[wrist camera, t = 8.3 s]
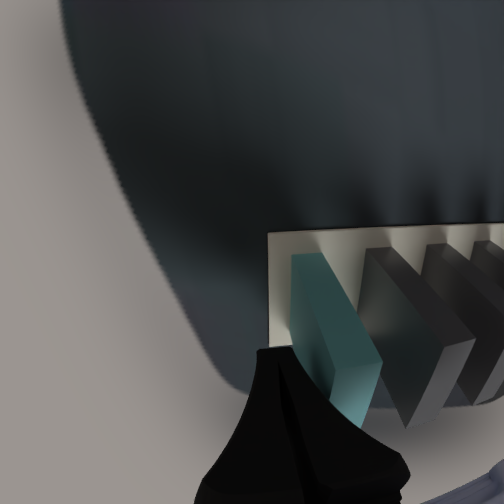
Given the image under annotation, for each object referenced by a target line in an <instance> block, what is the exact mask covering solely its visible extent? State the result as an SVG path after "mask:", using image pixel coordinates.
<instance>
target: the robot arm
mask: <svg viewBox="0 0 504 504" xmlns="http://www.w3.org/2000/svg"><path fill="white" fill-rule="evenodd" d="M256 352H257V363H256V370H255V376H254V380H253V384H252V388H251V391H250V394H249V397H248V400H247V403H246V406H245V409H244V411H243V414H242V416H241V418H240V421H239V423H238V425H237V427H236V429H235V431H234V433H233V435H232V437H231V438H230V440H229V442H228V444H227V445H226V447H225V448H224V450H223V452H222V453H221V455H220V456H219V458H218V459H217V461H216V462H215V464H214V465H213V466H212V468H211V469H210V470H209V471H208V473H207V474H206V475H205V476H204V478H203V479H202V482H201V484H200V486H199V489H198V491H197V494H196V497H195V501H194V504H401V503H400V501H401V499H402V496H401V493H400V490H401V489H402V487H403V486H404V485H405V484H406V483H407V482H408V480H409V478H410V471H409V469H408V466H407V465H406V463H405V461H404V459H403V458H402V456H401V455H400V453H398V452H396V451H394V450H392V449H391V448H389V447H387V446H385V445H383V444H382V443H380V442H379V441H377V440H376V439H374V438H372V437H371V436H369V435H368V434H366V433H365V432H364V431H363V430H361V429H360V428H359V427H357V426H356V425H355V424H354V423H352V422H351V421H350V420H349V419H348V418H346V417H345V416H344V415H343V414H342V413H341V412H340V411H339V410H338V409H337V408H336V407H335V406H334V405H333V404H332V403H331V402H330V401H329V400H328V399H327V398H326V397H325V395H324V394H323V393H322V392H321V391H320V390H319V388H318V387H317V386H316V385H315V383H314V382H313V381H312V379H311V378H310V377H309V375H308V374H307V372H306V371H305V369H304V368H303V366H302V365H301V363H300V362H299V360H298V358H297V357H296V355H295V353H294V351H293V349H292V348H291V347H279V348H267V349H259V350H258V351H256ZM421 504H504V459H503V460H501V461H500V462H498V463H497V464H496V465H495V466H494V467H493V468H492V469H491V470H490V471H489V473H486V474H485V475H483V476H481V477H479V478H477V479H475V480H473V481H471V482H469V483H467V484H465V485H463V486H461V487H459V488H456V489H454V490H452V491H450V492H448V493H445V494H443V495H441V496H438V497H436V498H434V499H431V500H429V501H426V502H424V503H421Z"/></svg>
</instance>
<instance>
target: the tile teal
mask: <svg viewBox="0 0 504 504" xmlns="http://www.w3.org/2000/svg"><path fill="white" fill-rule="evenodd" d="M290 336H291V340H292V344H293V348H294V352H295V355H296V357H297V358H298V360H299V362H300V363H301V365H302V366H303V368H304V369H305V371H306V372H307V374H308V375H309V377H310V378H311V379H312V381H313V382H314V383H315V385H316V386H317V387H318V388H319V390H320V391H321V392H322V393H323V394H324V395H325V397H326V398H327V399H328V400H329V401H330V402H331V403H332V404H333V405H334V406H335V407H336V408H337V409H338V410H339V411H340V412H341V413H342V414H343V415H344V416H345V417H346V418H348V419H349V420H350V421H351V422H352V423H354V424H355V425H356V426H357V427H359V428H360V429H361V426H362V423H363V420H364V418H365V415H366V412H367V410H368V407H369V404H370V401H371V398H372V395H373V392H374V389H375V386H376V383H377V380H378V377H379V374H380V371H381V367H382V364H383V361H382V359H381V357H380V355H379V353H378V351H377V349H376V347H375V346H374V344H373V342H372V340H371V338H370V336H369V334H368V333H367V331H366V329H365V327H364V325H363V323H362V321H361V320H360V318H359V316H358V314H357V312H356V311H355V309H354V307H353V305H352V303H351V302H350V300H349V298H348V296H347V295H346V293H345V291H344V289H343V288H342V286H341V284H340V282H339V281H338V279H337V277H336V275H335V274H334V272H333V270H332V269H331V267H330V265H329V263H328V262H327V260H326V258H325V257H324V255H323V253H307V254H293V255H291V299H290Z"/></svg>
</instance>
